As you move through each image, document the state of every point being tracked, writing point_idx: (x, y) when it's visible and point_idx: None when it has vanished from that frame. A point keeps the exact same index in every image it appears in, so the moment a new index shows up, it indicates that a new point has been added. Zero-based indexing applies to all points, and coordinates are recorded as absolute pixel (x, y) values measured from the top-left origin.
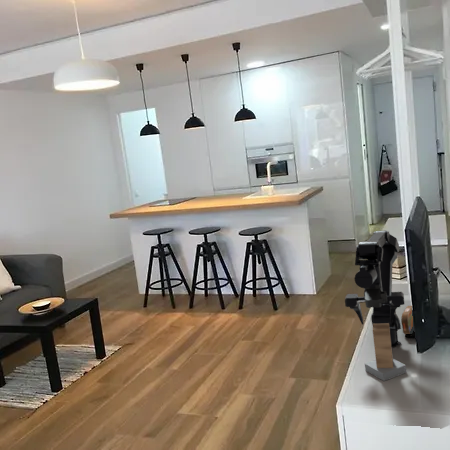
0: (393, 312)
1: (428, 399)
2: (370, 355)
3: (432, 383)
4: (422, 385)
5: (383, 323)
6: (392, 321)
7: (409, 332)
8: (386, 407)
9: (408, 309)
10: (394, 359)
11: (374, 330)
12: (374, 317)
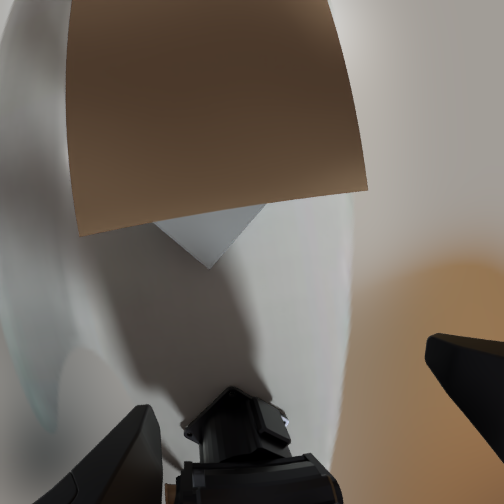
0: (55, 499)
1: (45, 11)
2: (297, 318)
3: (17, 109)
4: (48, 83)
5: (176, 211)
6: (197, 492)
7: (165, 486)
8: None
9: None
10: (158, 226)
11: None
12: (325, 497)
